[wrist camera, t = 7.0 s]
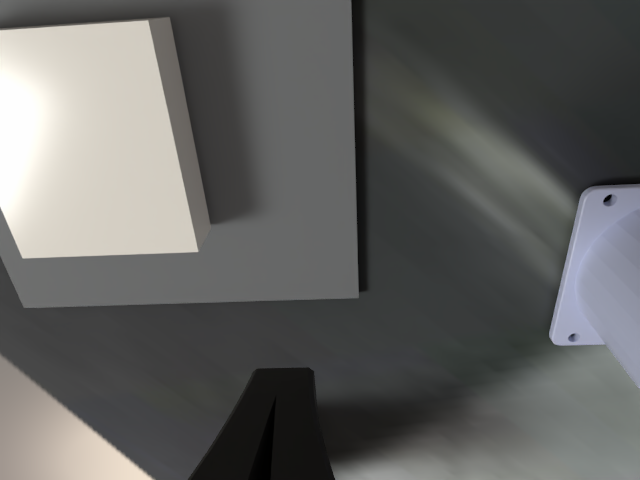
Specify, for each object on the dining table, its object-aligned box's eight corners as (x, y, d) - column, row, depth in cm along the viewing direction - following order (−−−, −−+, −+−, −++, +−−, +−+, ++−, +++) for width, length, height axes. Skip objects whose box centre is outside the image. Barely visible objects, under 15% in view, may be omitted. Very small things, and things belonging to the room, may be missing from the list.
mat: (347, -146, 14) (347, -150, 13) (358, 292, 21) (358, 297, 21) (-153, -102, 15) (-165, -105, 14) (29, 303, 22) (24, 307, 22)
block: (148, 20, 14) (-75, 35, 14) (198, 252, 17) (22, 258, 18) (171, 16, 16) (-24, 29, 16) (212, 225, 19) (53, 231, 20)
